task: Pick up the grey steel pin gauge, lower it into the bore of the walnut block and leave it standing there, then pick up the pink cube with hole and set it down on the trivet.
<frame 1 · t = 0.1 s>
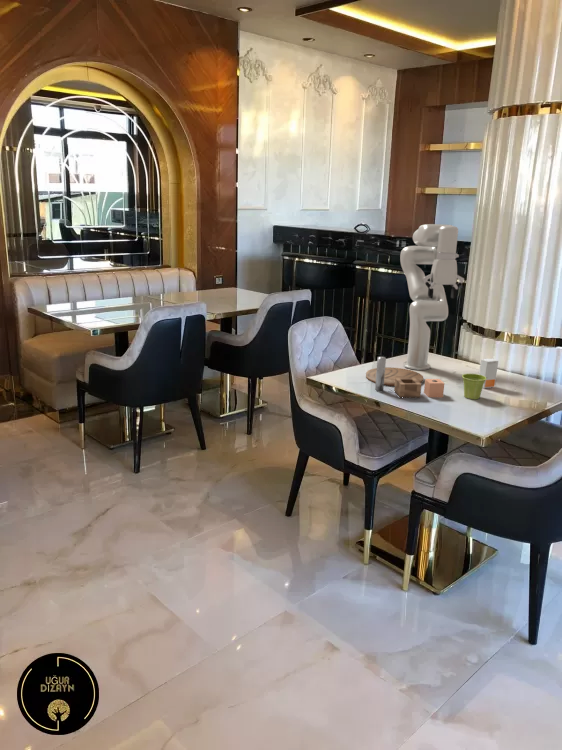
hand: (441, 298, 259), 37 cm above the table, tool pointing down, fingers open, 9 cm apart
pin gauge: (379, 390, 255), on the table
skincare box: (486, 387, 265), on the table
trivet: (394, 379, 273), on the table
plant pot: (471, 397, 250), on the table
pink cube with hole: (433, 395, 252), on the table
walnut block: (406, 395, 250), on the table
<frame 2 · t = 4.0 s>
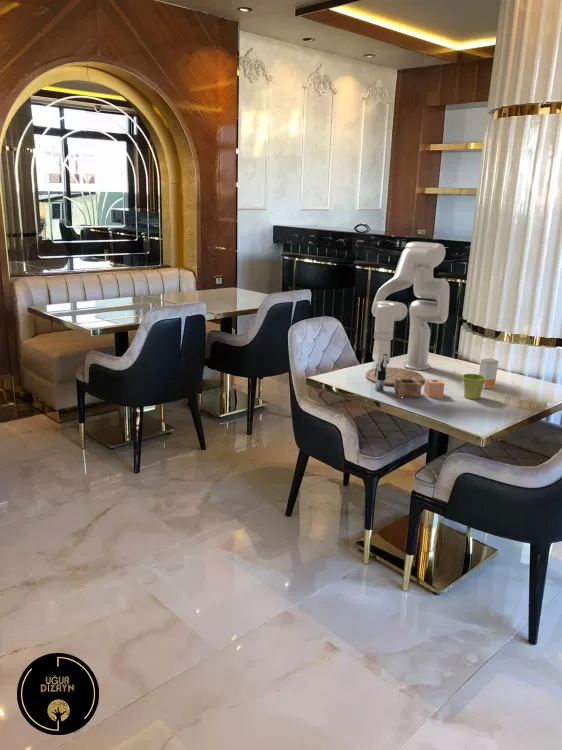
hand: (380, 378, 254), 5 cm above the table, tool pointing down, fingers closed on pin gauge, 3 cm apart
pin gauge: (379, 390, 255), on the table, touching gripper
everything else where it was.
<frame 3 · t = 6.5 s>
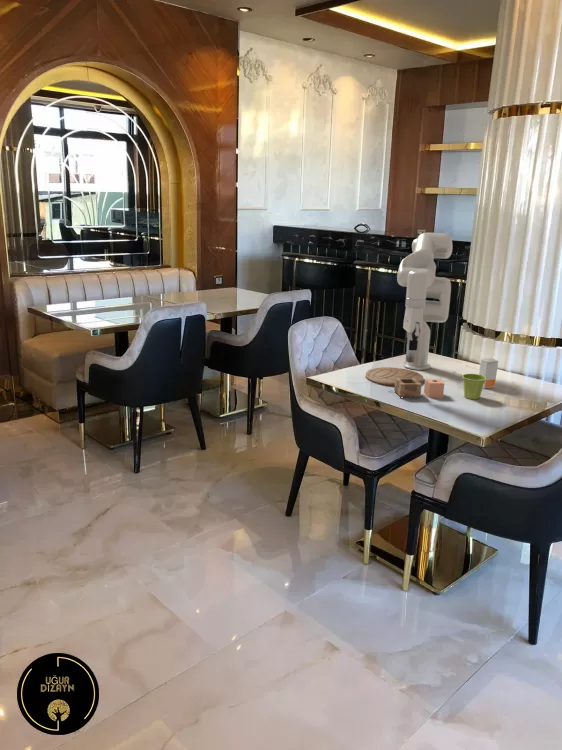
hand: (411, 348, 245), 19 cm above the table, tool pointing down, fingers closed on pin gauge, 3 cm apart
pin gauge: (409, 361, 246), point 14 cm above the table, touching gripper
everything else where it was.
when the fingers open (7 cm above the table, at t = 8.9 s): pin gauge stays where it is, resting on walnut block.
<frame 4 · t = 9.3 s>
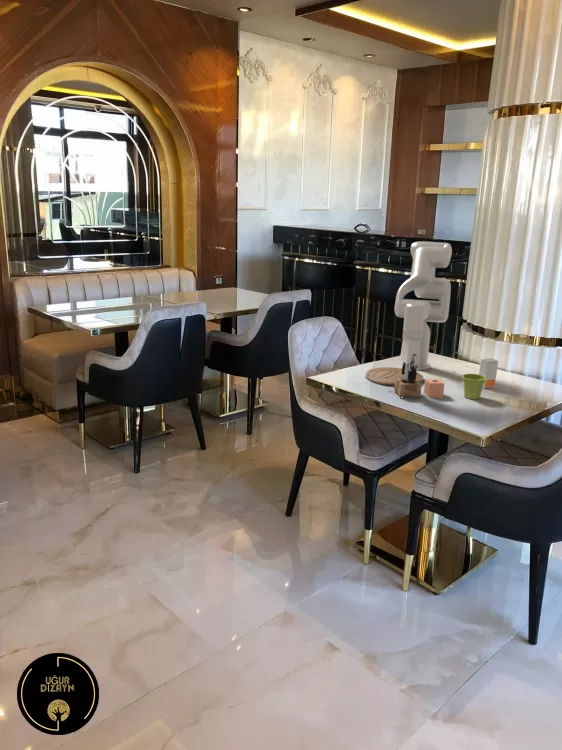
hand: (408, 377, 248), 8 cm above the table, tool pointing down, fingers open, 7 cm apart
pin gauge: (407, 393, 250), point 1 cm above the table, touching walnut block
walnut block: (406, 395, 251), on the table, touching pin gauge
everything else where it was.
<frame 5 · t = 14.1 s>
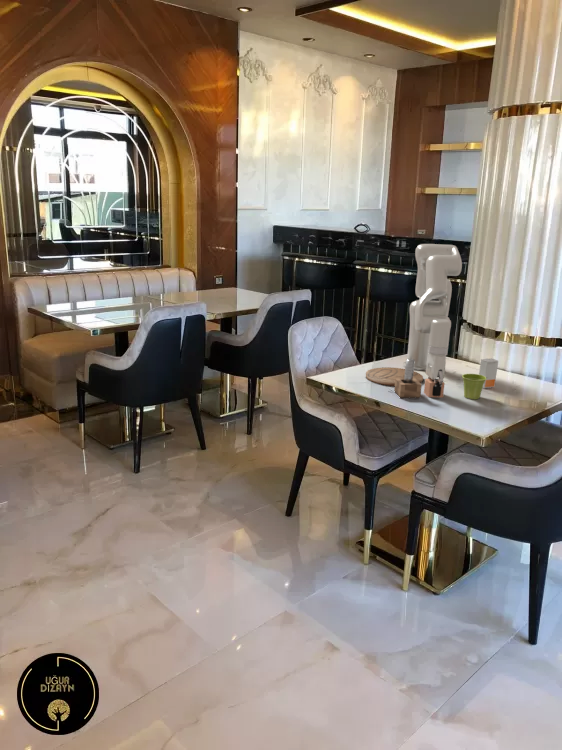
hand: (433, 392, 251), 1 cm above the table, tool pointing down, fingers closed on pink cube with hole, 6 cm apart
pink cube with hole: (433, 394, 251), on the table, touching gripper
everything else where it was.
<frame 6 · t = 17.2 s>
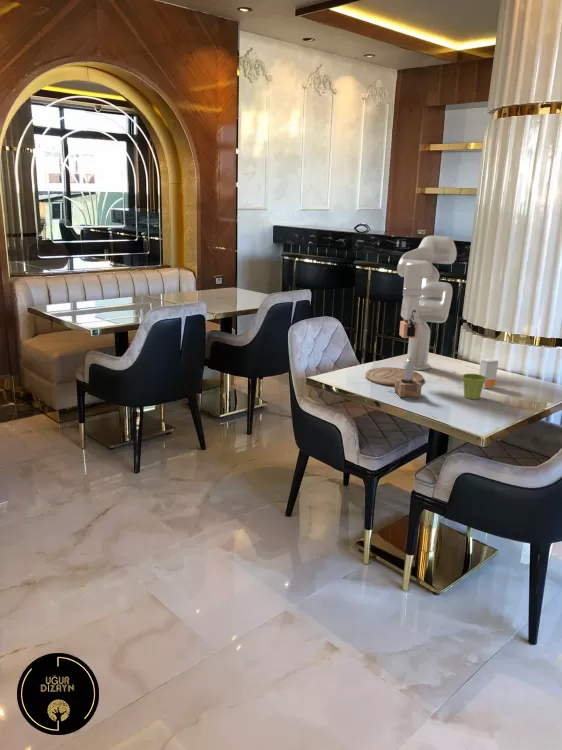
hand: (408, 334, 262), 21 cm above the table, tool pointing down, fingers closed on pink cube with hole, 6 cm apart
pink cube with hole: (408, 336, 262), point 20 cm above the table, touching gripper
everything else where it was.
when the fingers open (4 cm above the table, at t = 20.7 s): pink cube with hole drops 2 cm, resting on trivet.
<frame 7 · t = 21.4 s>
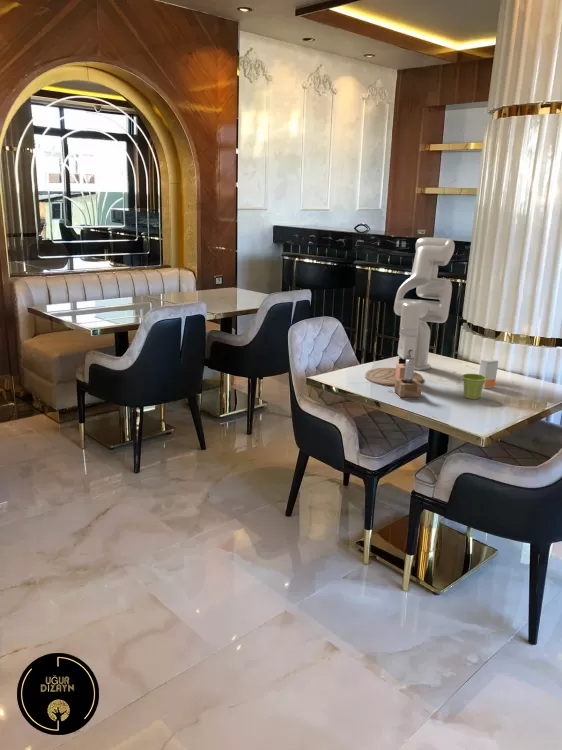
hand: (405, 370, 267), 5 cm above the table, tool pointing down, fingers open, 9 cm apart
trivet: (393, 380, 273), on the table, touching pink cube with hole
pink cube with hole: (403, 378, 268), point 1 cm above the table, touching trivet
everything else where it was.
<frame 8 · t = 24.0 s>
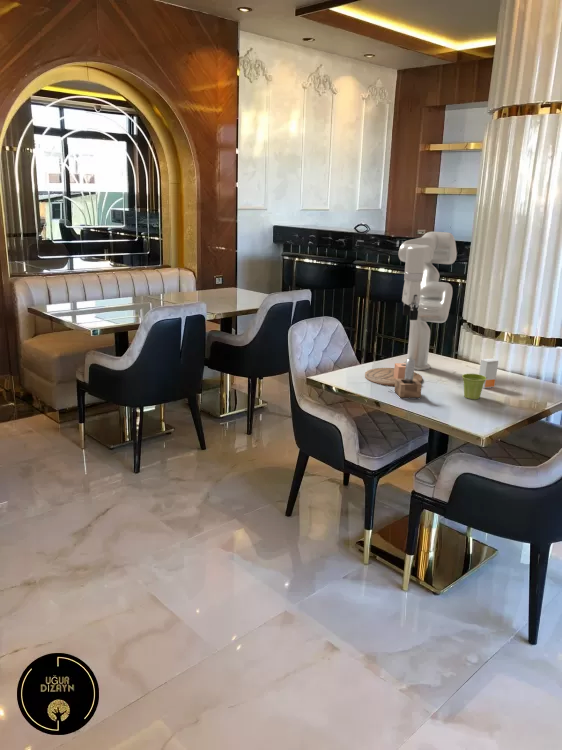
hand: (409, 317, 260), 28 cm above the table, tool pointing down, fingers open, 9 cm apart
pink cube with hole: (402, 378, 269), point 1 cm above the table, touching trivet
everything else where it was.
at the end: pink cube with hole inside the target area on the trivet (5.1 cm from its centre), point 2.1 cm above the trivet's base; pin gauge 0.1 cm from the walnut block (horizontally); pin gauge point 0.8 cm above the table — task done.
